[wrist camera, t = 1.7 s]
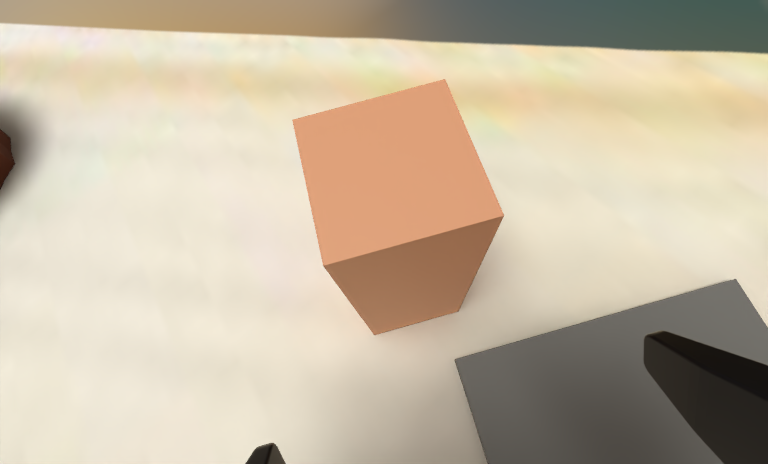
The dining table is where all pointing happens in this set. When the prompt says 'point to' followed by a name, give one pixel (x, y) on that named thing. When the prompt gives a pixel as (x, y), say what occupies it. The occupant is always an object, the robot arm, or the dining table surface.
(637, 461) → the charcoal mat
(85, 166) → the dining table surface
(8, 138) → the muffin
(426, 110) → the terracotta block
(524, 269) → the dining table surface
